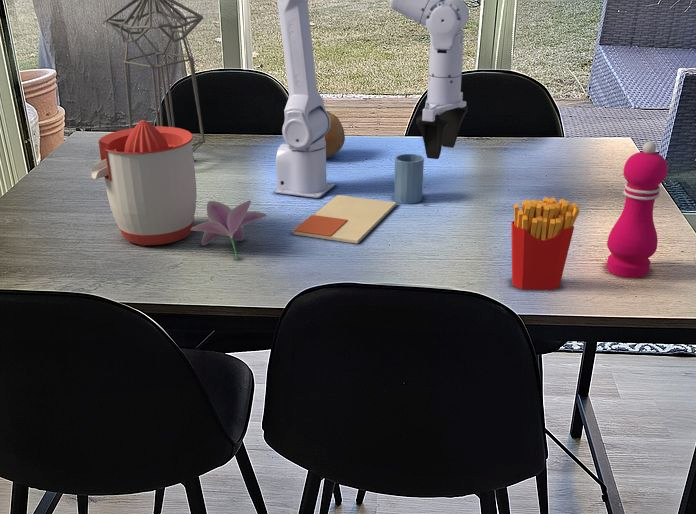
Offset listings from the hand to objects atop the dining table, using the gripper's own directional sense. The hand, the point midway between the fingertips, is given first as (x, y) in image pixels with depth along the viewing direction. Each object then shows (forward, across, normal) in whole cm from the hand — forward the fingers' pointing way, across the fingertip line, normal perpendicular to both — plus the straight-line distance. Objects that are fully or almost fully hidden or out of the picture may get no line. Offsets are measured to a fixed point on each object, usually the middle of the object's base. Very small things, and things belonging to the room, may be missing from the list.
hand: (440, 152), depth 150 cm
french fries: (+10, -25, -26) cm, 38 cm away
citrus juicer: (+10, -35, +40) cm, 54 cm away
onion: (+10, +18, +34) cm, 40 cm away
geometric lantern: (+10, 0, +63) cm, 63 cm away
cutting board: (+10, -14, +12) cm, 21 cm away
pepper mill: (+10, -14, -37) cm, 41 cm away
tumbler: (+10, +1, +6) cm, 12 cm away
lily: (+10, -34, +24) cm, 43 cm away
